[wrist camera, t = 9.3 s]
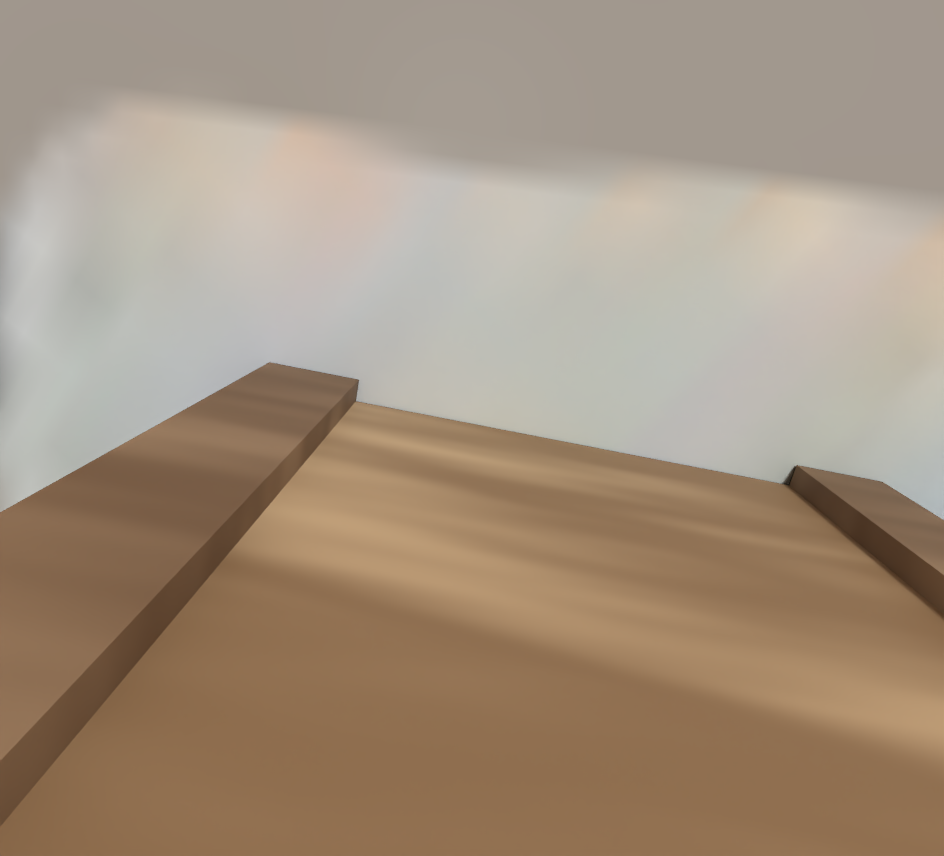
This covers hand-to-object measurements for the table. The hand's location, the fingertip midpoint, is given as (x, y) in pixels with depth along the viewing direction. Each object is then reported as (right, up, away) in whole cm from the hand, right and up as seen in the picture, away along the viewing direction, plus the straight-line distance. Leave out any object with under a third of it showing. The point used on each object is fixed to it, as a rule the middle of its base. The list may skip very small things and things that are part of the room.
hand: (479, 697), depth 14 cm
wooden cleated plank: (+2, +4, 0) cm, 5 cm away
